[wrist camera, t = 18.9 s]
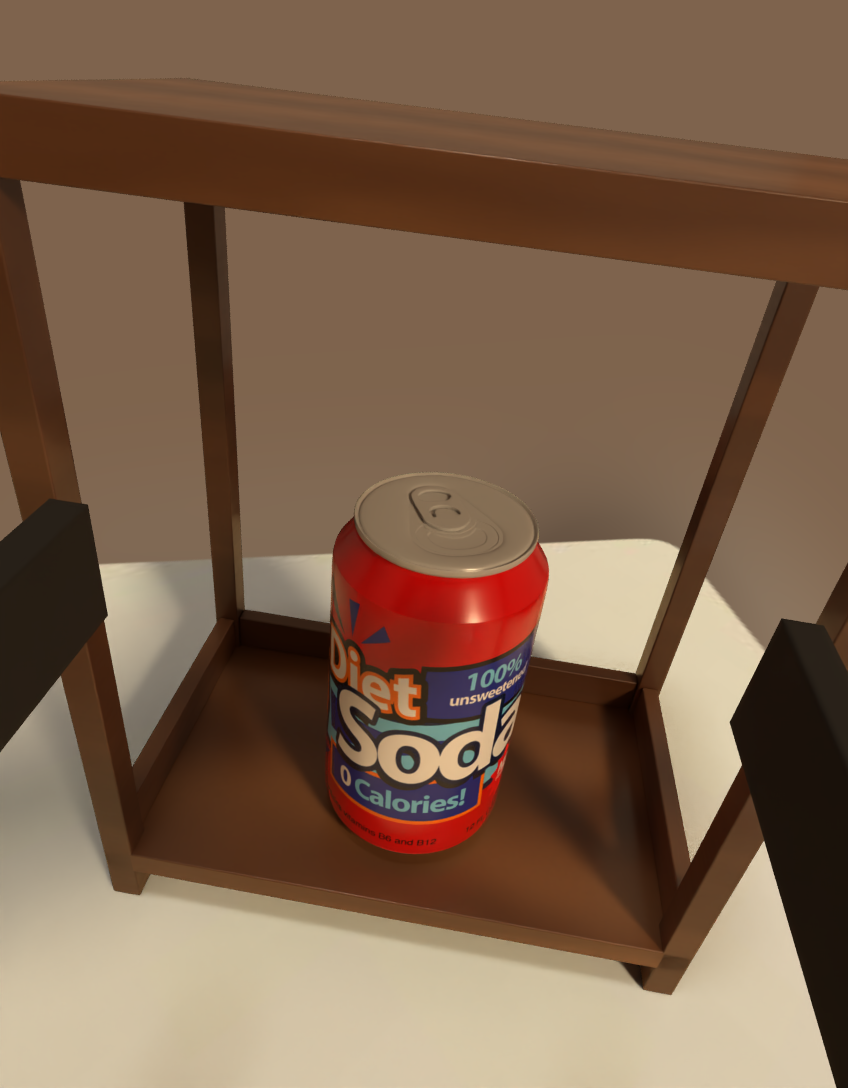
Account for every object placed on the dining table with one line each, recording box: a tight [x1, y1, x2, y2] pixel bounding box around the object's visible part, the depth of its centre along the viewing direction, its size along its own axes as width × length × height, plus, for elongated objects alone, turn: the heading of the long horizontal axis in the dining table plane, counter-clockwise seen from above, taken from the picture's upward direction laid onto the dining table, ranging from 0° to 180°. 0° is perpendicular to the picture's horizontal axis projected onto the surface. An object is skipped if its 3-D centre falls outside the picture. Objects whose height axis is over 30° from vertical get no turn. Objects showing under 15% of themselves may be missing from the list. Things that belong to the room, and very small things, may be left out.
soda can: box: [325, 472, 549, 854], centre depth 29 cm, size 8×8×15 cm
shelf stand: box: [0, 78, 848, 995], centre depth 28 cm, size 14×24×30 cm, turn 82°
